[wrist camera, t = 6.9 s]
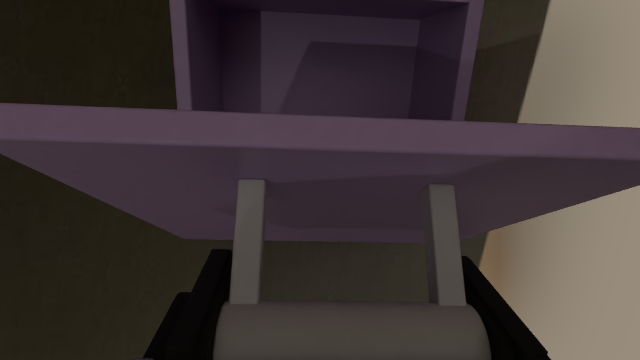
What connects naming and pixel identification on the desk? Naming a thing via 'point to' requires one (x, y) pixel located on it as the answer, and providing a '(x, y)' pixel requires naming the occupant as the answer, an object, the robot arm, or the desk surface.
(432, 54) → the box
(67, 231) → the desk surface
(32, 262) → the desk surface
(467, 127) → the lid
